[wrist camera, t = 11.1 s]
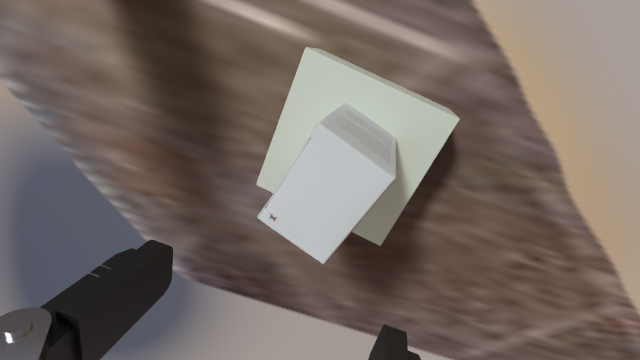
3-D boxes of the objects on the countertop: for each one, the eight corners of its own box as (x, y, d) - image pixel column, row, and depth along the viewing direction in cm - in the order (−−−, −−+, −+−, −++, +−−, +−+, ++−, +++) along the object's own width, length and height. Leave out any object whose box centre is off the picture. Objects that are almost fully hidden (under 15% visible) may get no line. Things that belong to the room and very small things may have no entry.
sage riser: (321, 49, 32) (305, 47, 26) (448, 108, 31) (459, 118, 25) (276, 166, 37) (256, 184, 32) (382, 218, 37) (380, 246, 31)
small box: (346, 203, 30) (322, 269, 21) (299, 169, 30) (253, 220, 21) (399, 137, 27) (399, 179, 17) (346, 99, 27) (317, 121, 17)
